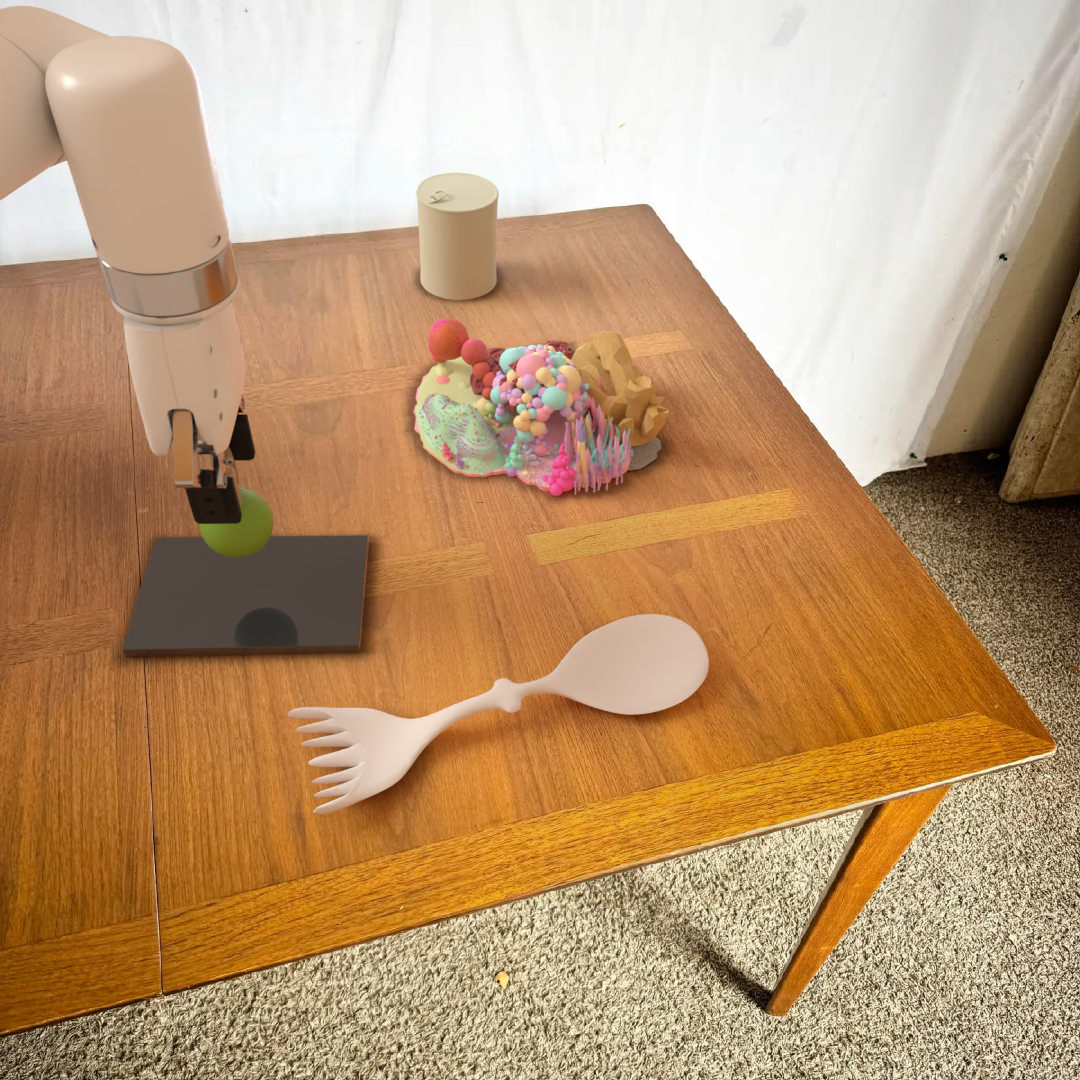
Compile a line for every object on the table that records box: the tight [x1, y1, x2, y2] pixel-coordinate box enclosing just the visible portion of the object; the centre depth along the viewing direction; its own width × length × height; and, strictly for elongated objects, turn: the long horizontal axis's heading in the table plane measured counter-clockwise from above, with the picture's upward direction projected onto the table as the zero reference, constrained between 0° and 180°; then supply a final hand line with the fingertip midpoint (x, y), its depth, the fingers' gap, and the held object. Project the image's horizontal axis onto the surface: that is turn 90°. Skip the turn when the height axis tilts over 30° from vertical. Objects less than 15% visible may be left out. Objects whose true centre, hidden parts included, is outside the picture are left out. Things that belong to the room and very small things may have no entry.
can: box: [415, 172, 499, 301], centre depth 110 cm, size 9×9×12 cm
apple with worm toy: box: [198, 446, 274, 558], centre depth 71 cm, size 5×6×12 cm
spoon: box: [286, 613, 710, 815], centre depth 72 cm, size 9×32×4 cm, turn 112°
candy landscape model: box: [413, 317, 670, 497], centre depth 94 cm, size 25×24×9 cm
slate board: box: [122, 534, 370, 658], centre depth 79 cm, size 18×12×2 cm, turn 94°
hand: (226, 486), depth 70 cm, fingers closed on apple with worm toy, 6 cm apart
